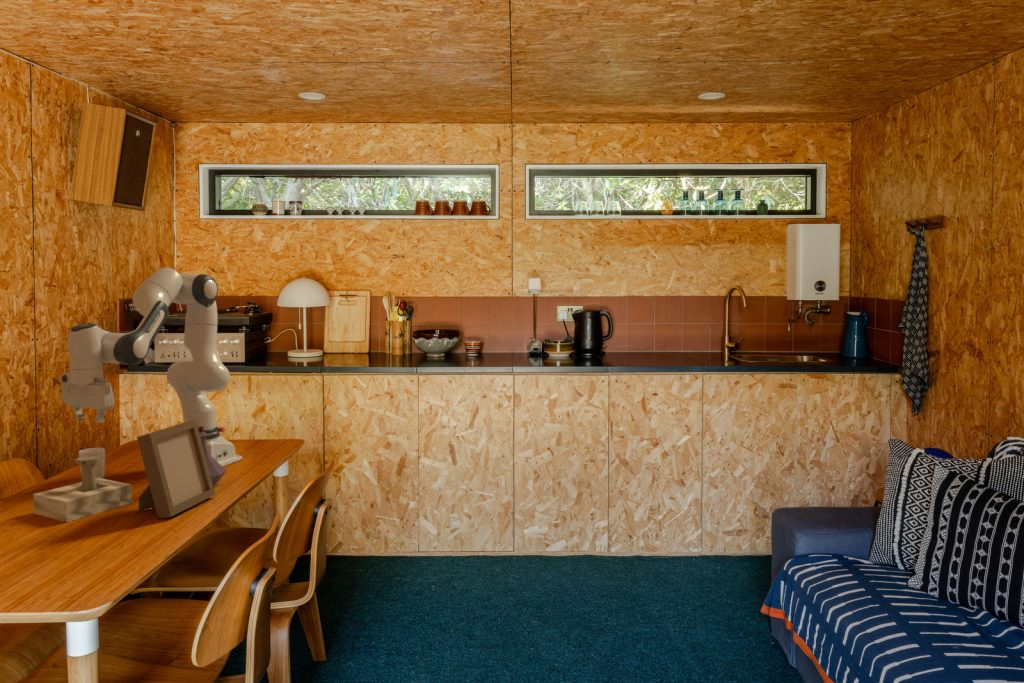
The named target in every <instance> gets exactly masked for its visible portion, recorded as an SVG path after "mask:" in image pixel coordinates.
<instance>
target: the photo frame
mask: <svg viewBox="0 0 1024 683" xmlns="http://www.w3.org/2000/svg"><path fill="white" fill-rule="evenodd" d="M136 440H137V444H138V447H139V450H140V455H141V459H142V462H143V465H144V469H145V473H146V477H147V481H148V484H147V487H146V488H145V489H144V490H143V491H142V493H141V494H140V495H139V496H138V510H143V511H145V510H144V509H148V510H150V509H149V508H153V509H155V511H156V515H157V516H156V517H157V518H158V517H159V518H162V519H165V518H166V519H167V518H171V517H173V516H176V515H177V514H179V513H181V512H184V511H185V510H187V509H189V508H192V507H194V506H196V505H197V504H199V503H201V502H203V501H205V500H208V499H210V498H212V497H214V496H215V495H216V492H215V488H214V486H213V484H212V480H211V476H210V472H209V468H208V465H207V461H206V457H205V453H204V449H203V445H202V441H201V438H200V434H199V430H198V426H197V422H196V420H193V421H188V422H184V423H183V422H181V423H179V424H174V425H171V426H169V427H165V428H162V429H159V430H155V431H152V432H149V433H146V434H143V435H139V436H137V437H136ZM154 507H155V508H154Z"/></svg>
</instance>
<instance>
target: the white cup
mask: <svg viewBox="0 0 1024 683" xmlns="http://www.w3.org/2000/svg"><path fill="white" fill-rule="evenodd" d="M91 456H96V457H100V461H99V462H98V463H97V464H95V466H94V469H95V478H102V479H104V478H103V477H105V467H106V465H105V464H106V463H105V462H106V458H105V457H106V449H105V448H103V447H91V448H90V447H89V448H84V449H80V450H79V451H78V458H80V457H91ZM79 468H80V472H81V477H82V468H81V466H80V465H79Z"/></svg>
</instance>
